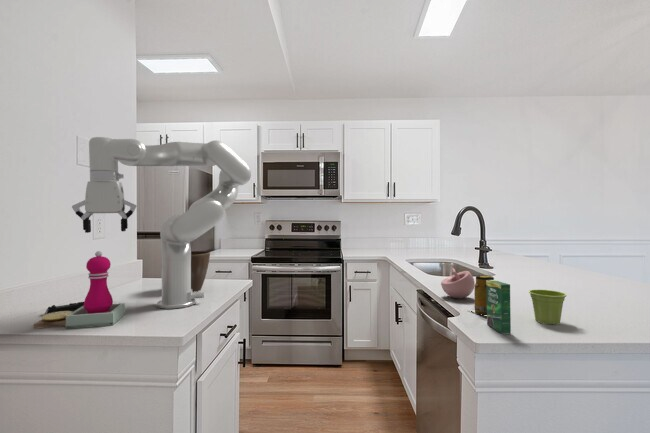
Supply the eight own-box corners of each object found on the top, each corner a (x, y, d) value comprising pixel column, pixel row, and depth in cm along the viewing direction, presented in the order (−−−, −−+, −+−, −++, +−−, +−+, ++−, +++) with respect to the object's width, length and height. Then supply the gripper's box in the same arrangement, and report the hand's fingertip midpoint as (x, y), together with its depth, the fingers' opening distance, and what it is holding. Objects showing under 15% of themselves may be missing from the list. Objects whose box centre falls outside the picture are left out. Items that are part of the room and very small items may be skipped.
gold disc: (77, 316, 103) (77, 310, 103) (66, 323, 96) (66, 316, 96) (49, 318, 101) (49, 312, 101) (36, 325, 94) (36, 318, 94)
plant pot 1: (209, 293, 137) (209, 254, 137) (169, 295, 133) (169, 255, 133) (211, 286, 151) (211, 250, 151) (175, 288, 147) (175, 251, 147)
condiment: (484, 309, 113) (484, 273, 113) (506, 316, 105) (506, 278, 105) (467, 311, 110) (467, 275, 111) (488, 318, 103) (488, 279, 103)
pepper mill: (77, 321, 97) (77, 252, 97) (98, 314, 104) (98, 249, 104) (98, 322, 96) (99, 252, 96) (118, 315, 103) (118, 250, 103)
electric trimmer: (104, 308, 115) (104, 299, 115) (45, 317, 105) (45, 307, 105) (101, 306, 118) (101, 297, 118) (44, 315, 107) (44, 305, 107)
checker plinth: (79, 317, 103) (79, 313, 103) (67, 325, 96) (67, 321, 96) (48, 319, 101) (48, 315, 101) (34, 328, 93) (34, 323, 93)
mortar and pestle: (438, 294, 136) (438, 265, 136) (469, 295, 134) (469, 266, 134) (444, 301, 124) (444, 270, 124) (478, 302, 122) (478, 271, 122)
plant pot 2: (523, 320, 100) (523, 291, 100) (536, 315, 106) (536, 287, 106) (559, 329, 93) (559, 297, 93) (571, 322, 98) (571, 293, 98)
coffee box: (485, 324, 97) (485, 279, 97) (495, 324, 97) (495, 278, 97) (500, 334, 89) (500, 284, 89) (511, 333, 89) (511, 284, 89)
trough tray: (124, 314, 107) (124, 303, 107) (113, 325, 96) (113, 312, 96) (82, 317, 104) (82, 305, 104) (65, 329, 93) (65, 316, 93)
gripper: (137, 179, 112) (139, 230, 112) (75, 178, 106) (77, 232, 107) (133, 176, 105) (134, 231, 105) (66, 175, 99) (68, 233, 99)
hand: (106, 231), depth 106 cm, fingers open, 9 cm apart
